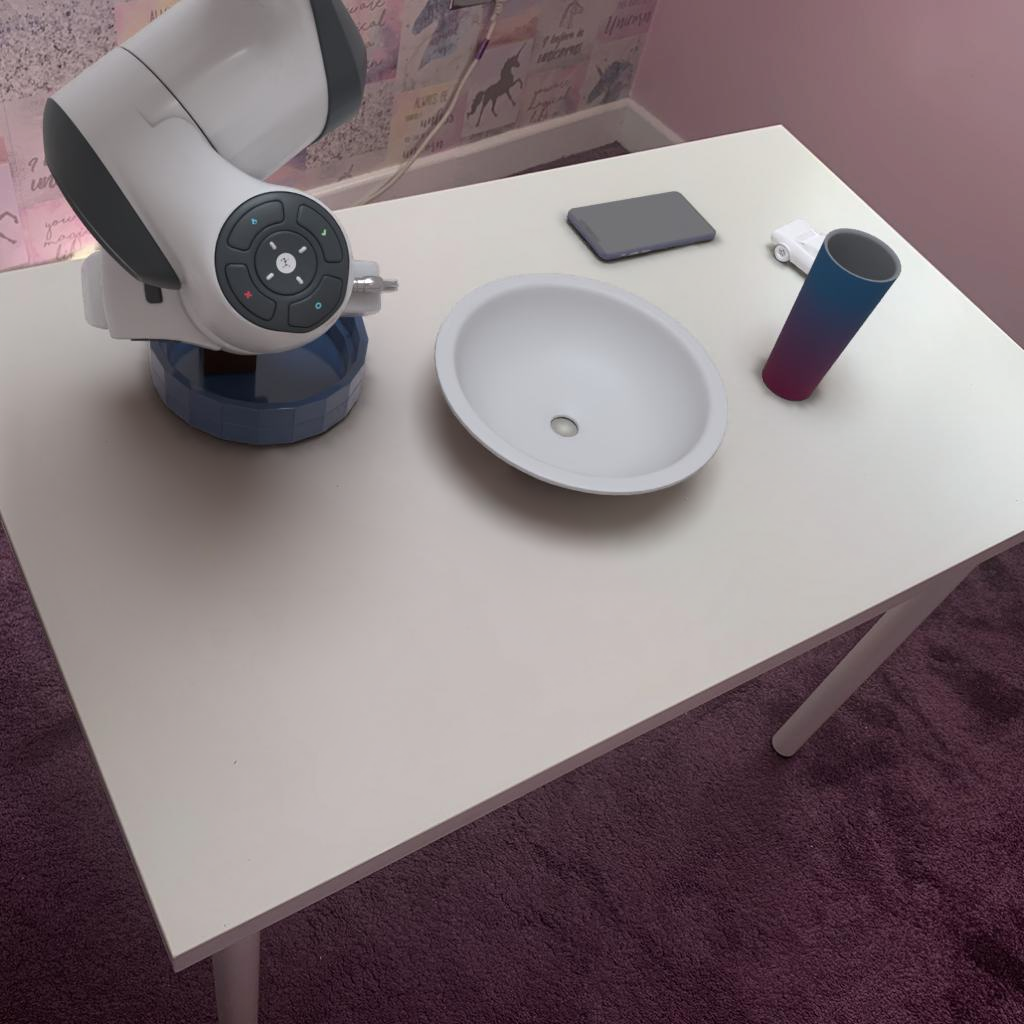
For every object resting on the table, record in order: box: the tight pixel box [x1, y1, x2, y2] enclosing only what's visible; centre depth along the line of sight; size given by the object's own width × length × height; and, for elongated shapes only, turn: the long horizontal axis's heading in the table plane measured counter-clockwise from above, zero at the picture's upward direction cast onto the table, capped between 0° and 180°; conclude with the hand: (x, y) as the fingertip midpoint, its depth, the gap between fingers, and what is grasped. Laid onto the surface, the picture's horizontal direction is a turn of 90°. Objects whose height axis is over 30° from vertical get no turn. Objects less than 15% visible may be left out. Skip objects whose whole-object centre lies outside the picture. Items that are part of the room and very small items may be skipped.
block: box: [199, 346, 257, 374], centre depth 80 cm, size 4×4×10 cm
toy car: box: [770, 218, 827, 276], centre depth 110 cm, size 6×12×3 cm, turn 41°
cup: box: [761, 227, 902, 401], centre depth 93 cm, size 7×7×15 cm
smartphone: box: [566, 190, 717, 261], centre depth 108 cm, size 8×1×15 cm
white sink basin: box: [433, 272, 729, 496], centre depth 86 cm, size 24×24×7 cm
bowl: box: [147, 317, 369, 446], centre depth 83 cm, size 16×16×4 cm
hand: (226, 298), depth 81 cm, fingers closed on block, 4 cm apart
